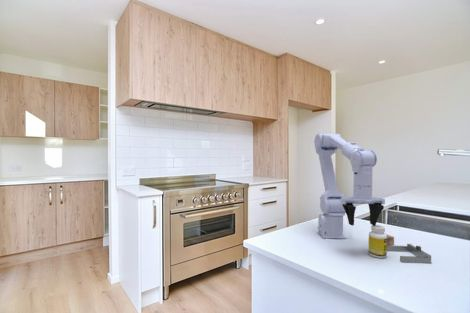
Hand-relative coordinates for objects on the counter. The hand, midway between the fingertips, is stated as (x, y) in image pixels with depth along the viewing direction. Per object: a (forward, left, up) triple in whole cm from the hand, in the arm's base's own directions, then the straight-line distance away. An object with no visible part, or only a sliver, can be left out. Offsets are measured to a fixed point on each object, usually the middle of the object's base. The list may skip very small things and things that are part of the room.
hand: (362, 224), depth 84 cm
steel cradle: (+14, -1, -10) cm, 17 cm away
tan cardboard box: (+13, +10, -10) cm, 19 cm away
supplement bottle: (+5, -1, -10) cm, 11 cm away
